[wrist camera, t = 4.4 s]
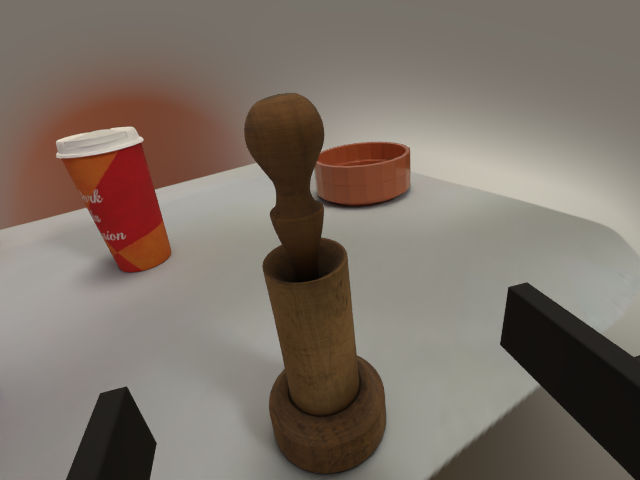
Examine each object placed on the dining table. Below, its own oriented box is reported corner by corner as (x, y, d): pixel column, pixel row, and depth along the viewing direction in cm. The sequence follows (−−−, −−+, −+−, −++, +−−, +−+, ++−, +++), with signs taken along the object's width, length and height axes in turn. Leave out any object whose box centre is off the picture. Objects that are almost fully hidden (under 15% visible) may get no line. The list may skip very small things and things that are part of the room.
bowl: (428, 184, 54) (429, 145, 52) (369, 217, 46) (366, 172, 44) (358, 172, 64) (356, 139, 62) (299, 198, 56) (293, 160, 53)
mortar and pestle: (320, 504, 17) (234, 114, 9) (255, 416, 22) (161, 109, 14) (409, 419, 20) (406, 79, 12) (336, 358, 25) (300, 84, 17)
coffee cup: (110, 256, 45) (56, 136, 38) (176, 237, 48) (137, 122, 41) (107, 287, 38) (41, 147, 31) (185, 262, 41) (140, 130, 34)
